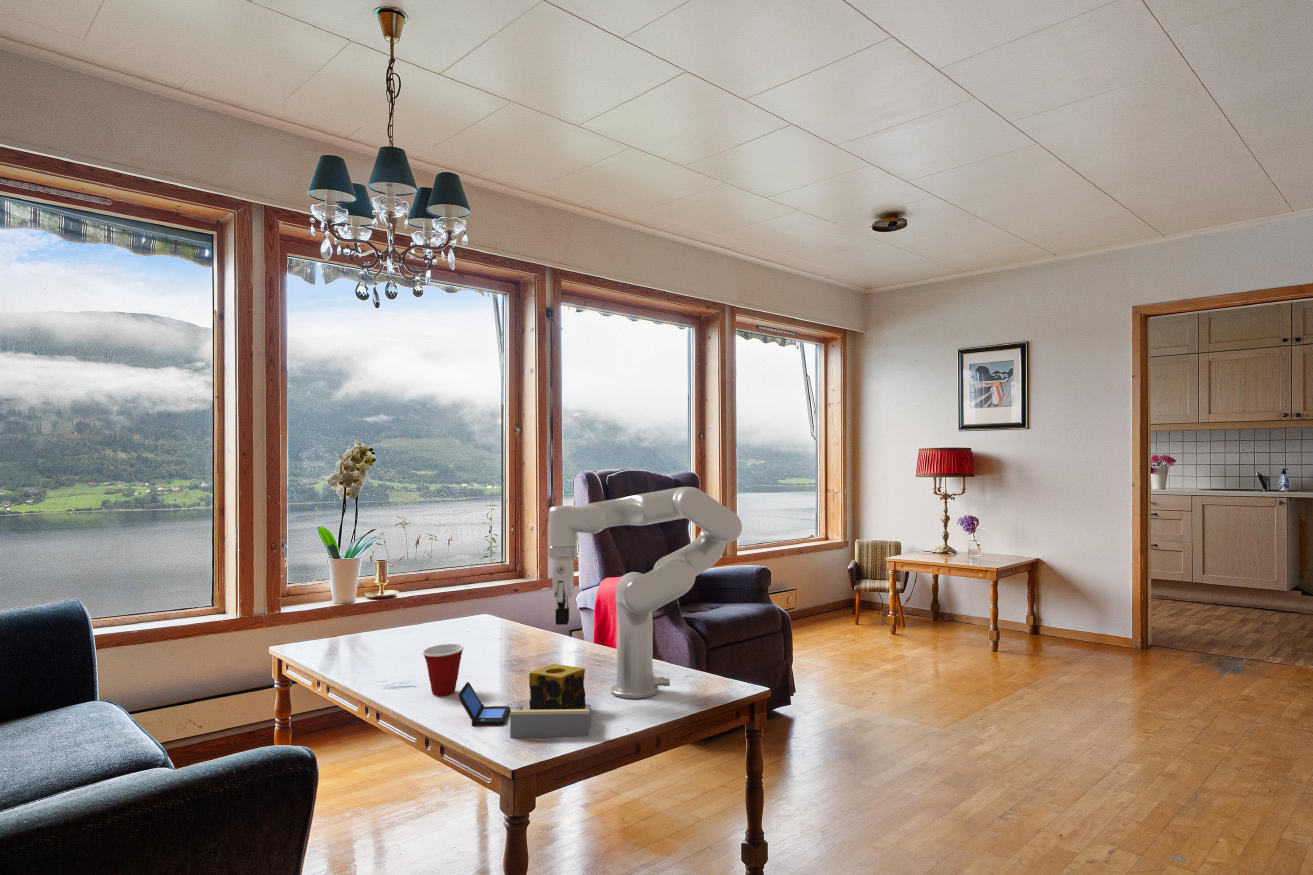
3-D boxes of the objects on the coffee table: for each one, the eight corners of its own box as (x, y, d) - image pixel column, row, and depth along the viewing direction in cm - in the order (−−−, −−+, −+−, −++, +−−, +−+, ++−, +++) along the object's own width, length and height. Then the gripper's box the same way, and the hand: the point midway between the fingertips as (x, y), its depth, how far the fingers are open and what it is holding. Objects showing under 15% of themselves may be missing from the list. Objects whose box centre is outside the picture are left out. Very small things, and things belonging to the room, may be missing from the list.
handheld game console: (503, 726, 177) (504, 694, 178) (456, 727, 177) (457, 695, 177) (511, 710, 190) (511, 679, 190) (466, 711, 189) (467, 680, 189)
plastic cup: (414, 692, 204) (415, 647, 205) (452, 685, 211) (453, 641, 212) (431, 701, 196) (432, 654, 196) (470, 694, 203) (471, 648, 203)
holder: (590, 721, 180) (590, 697, 180) (588, 736, 170) (588, 710, 170) (517, 722, 179) (517, 698, 180) (510, 737, 169) (510, 711, 169)
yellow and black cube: (586, 708, 190) (586, 667, 191) (561, 720, 182) (561, 677, 182) (554, 702, 195) (554, 662, 196) (528, 713, 187) (528, 671, 187)
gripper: (574, 555, 194) (574, 629, 193) (579, 549, 210) (578, 617, 209) (544, 556, 194) (544, 629, 193) (551, 549, 210) (551, 617, 209)
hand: (562, 622), depth 201 cm, fingers closed
